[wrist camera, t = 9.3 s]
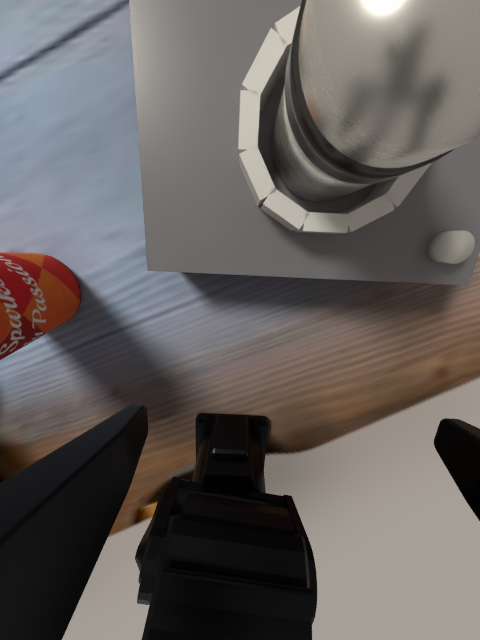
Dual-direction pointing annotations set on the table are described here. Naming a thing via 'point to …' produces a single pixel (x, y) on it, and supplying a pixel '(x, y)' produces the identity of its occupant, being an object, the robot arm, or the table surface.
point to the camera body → (258, 169)
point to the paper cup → (33, 298)
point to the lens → (375, 92)
